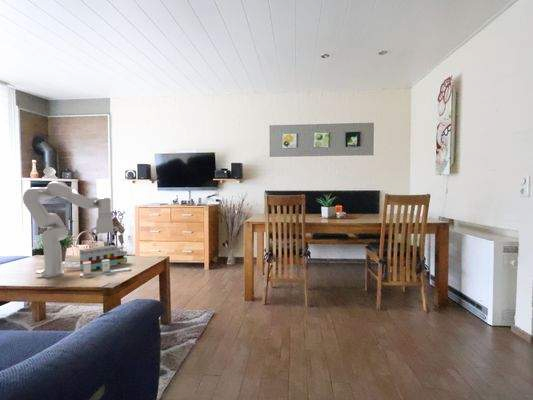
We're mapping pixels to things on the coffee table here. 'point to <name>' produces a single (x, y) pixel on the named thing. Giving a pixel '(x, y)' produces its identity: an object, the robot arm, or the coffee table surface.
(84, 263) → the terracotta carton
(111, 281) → the coffee table surface
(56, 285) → the coffee table surface
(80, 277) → the shelf board
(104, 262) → the teal carton
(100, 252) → the toy vehicle
